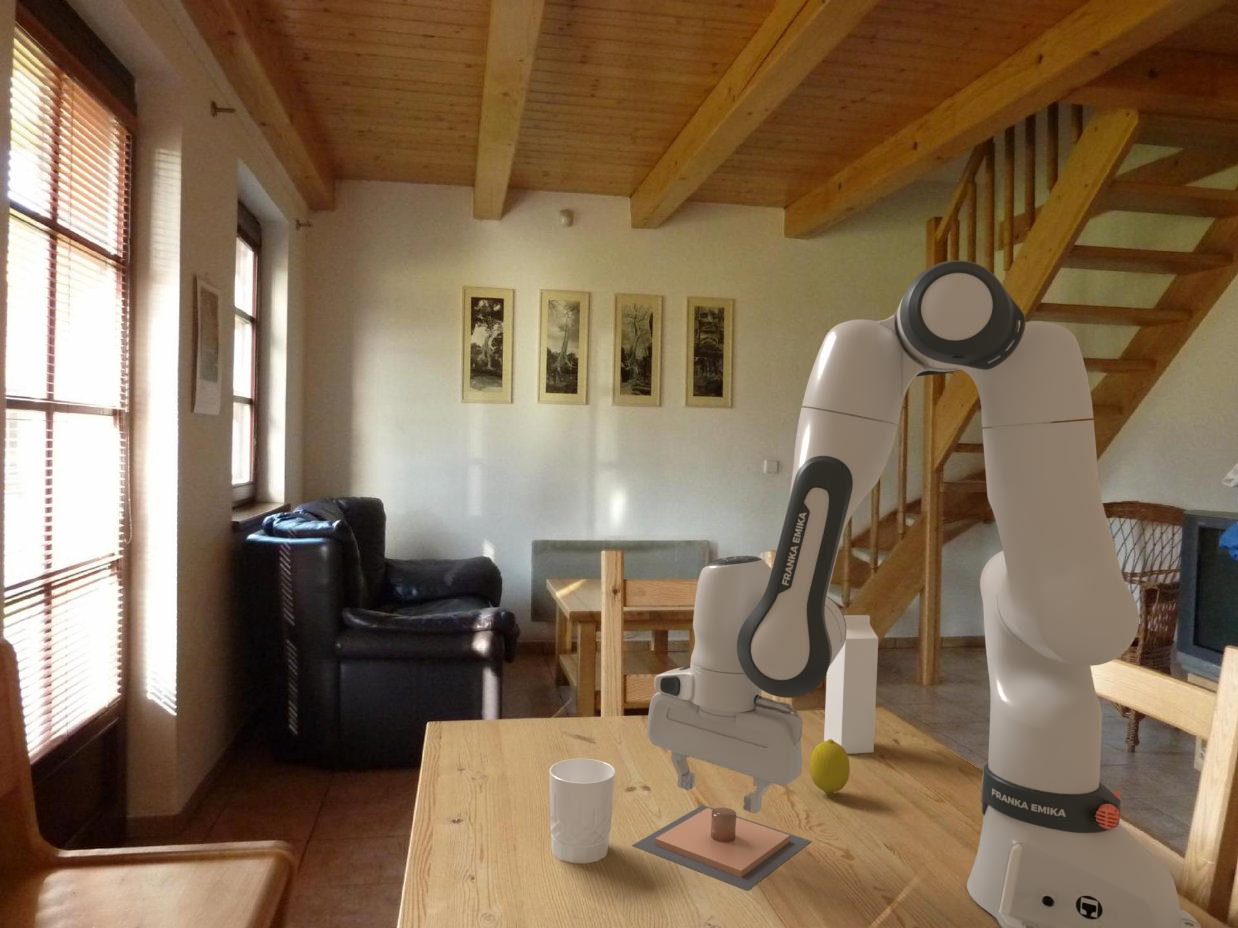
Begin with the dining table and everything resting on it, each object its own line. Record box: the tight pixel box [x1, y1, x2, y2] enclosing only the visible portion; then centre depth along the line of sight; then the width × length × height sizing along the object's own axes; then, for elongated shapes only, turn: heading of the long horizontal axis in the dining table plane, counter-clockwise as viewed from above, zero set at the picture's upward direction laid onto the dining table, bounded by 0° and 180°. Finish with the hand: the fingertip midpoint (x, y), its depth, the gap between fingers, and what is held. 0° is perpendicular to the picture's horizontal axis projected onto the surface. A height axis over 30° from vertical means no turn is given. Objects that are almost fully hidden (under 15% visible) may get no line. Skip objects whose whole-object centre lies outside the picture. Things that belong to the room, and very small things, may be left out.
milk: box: [823, 614, 879, 755], centre depth 144 cm, size 6×6×22 cm
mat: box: [631, 804, 812, 892], centre depth 107 cm, size 16×16×1 cm
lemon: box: [809, 739, 851, 796], centre depth 124 cm, size 6×6×8 cm
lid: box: [655, 807, 790, 878], centre depth 107 cm, size 12×12×4 cm
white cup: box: [548, 758, 616, 864], centre depth 104 cm, size 8×8×10 cm
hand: (718, 798), depth 107 cm, fingers open, 8 cm apart
